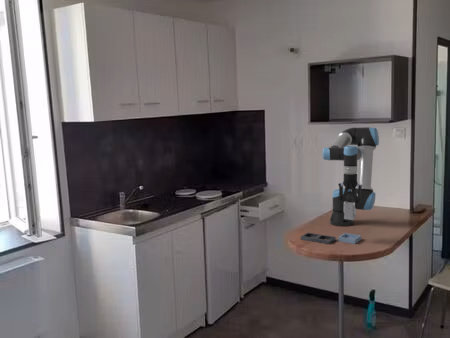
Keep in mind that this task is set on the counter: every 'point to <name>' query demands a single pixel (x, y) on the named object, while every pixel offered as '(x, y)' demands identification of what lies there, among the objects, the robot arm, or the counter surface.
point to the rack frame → (318, 238)
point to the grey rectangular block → (349, 211)
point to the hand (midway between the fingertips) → (350, 213)
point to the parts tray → (349, 238)
